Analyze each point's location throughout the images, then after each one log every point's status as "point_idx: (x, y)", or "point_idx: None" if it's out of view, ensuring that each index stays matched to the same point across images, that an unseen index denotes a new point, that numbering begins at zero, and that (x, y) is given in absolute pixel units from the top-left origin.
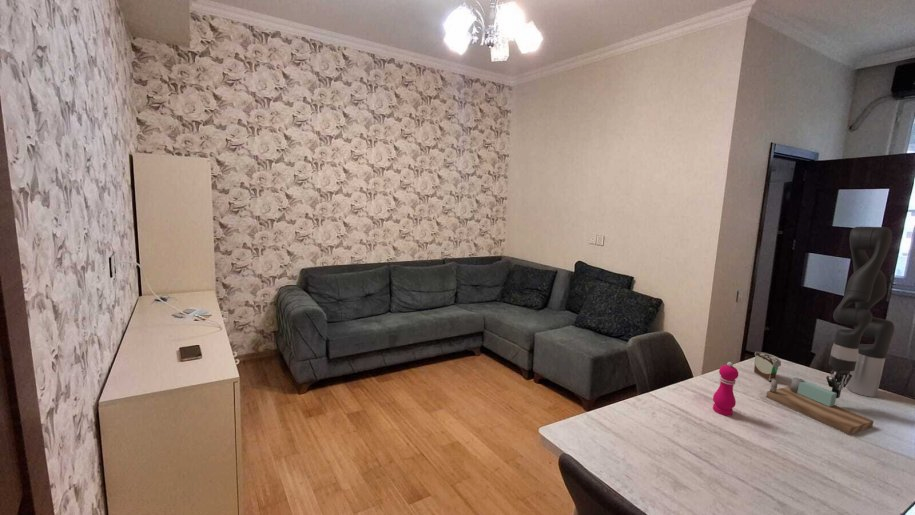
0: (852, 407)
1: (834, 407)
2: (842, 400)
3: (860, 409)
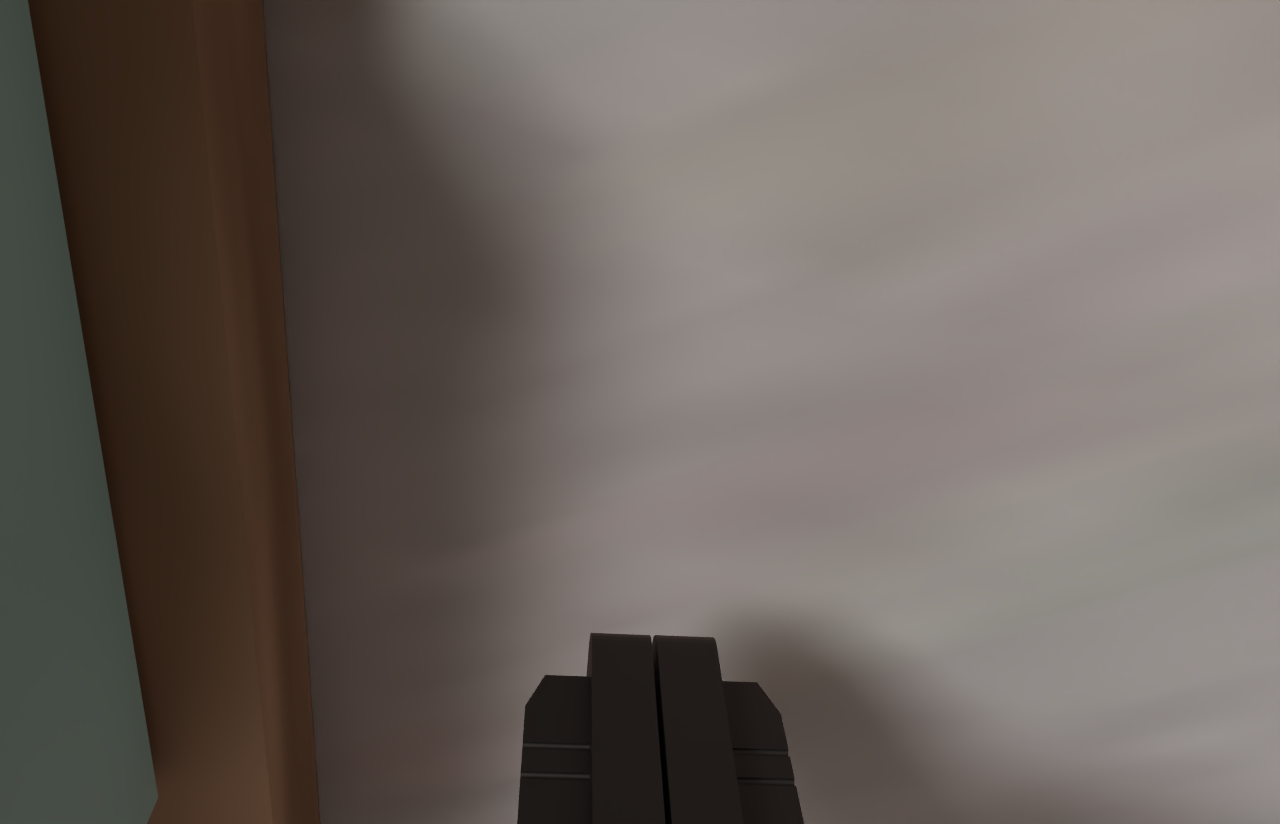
0: (976, 707)
1: None
2: (1245, 484)
3: (1021, 792)
